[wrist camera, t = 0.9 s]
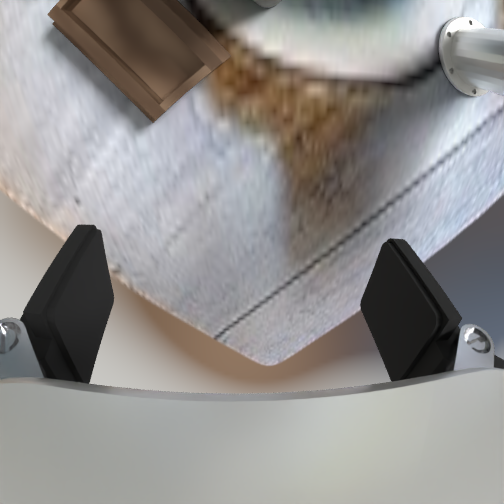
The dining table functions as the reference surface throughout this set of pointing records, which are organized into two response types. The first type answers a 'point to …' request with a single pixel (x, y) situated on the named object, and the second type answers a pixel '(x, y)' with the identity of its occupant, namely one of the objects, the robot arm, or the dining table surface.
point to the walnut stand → (142, 47)
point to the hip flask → (267, 3)
